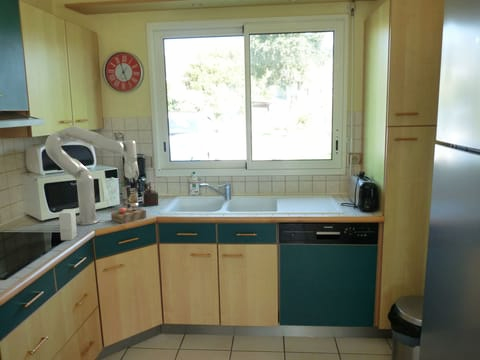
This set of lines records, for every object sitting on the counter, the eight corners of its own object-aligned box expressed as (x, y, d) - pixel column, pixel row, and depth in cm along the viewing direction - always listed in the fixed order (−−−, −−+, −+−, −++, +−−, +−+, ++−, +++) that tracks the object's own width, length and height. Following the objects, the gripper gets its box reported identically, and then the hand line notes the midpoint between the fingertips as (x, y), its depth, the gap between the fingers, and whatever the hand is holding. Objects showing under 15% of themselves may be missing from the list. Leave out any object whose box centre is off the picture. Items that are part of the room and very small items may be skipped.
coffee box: (128, 209, 282) (127, 187, 279) (122, 208, 286) (121, 186, 283) (138, 207, 289) (137, 185, 286) (133, 206, 293) (131, 184, 290)
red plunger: (121, 217, 251) (120, 209, 250) (117, 216, 254) (116, 208, 253) (128, 216, 255) (127, 208, 254) (124, 214, 258) (123, 207, 257)
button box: (121, 223, 248) (121, 216, 247) (111, 220, 256) (111, 212, 255) (146, 217, 261) (146, 210, 260) (136, 214, 269) (135, 207, 268)
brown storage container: (141, 203, 300) (140, 180, 296) (156, 202, 304) (155, 179, 301) (144, 208, 285) (143, 183, 282) (160, 206, 290) (159, 182, 286)
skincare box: (66, 235, 225) (63, 208, 223) (78, 235, 226) (75, 208, 223) (60, 240, 217) (58, 212, 214) (73, 240, 218) (70, 212, 215)
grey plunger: (133, 212, 257) (133, 204, 256) (129, 211, 260) (129, 203, 260) (140, 210, 261) (139, 203, 260) (135, 209, 264) (135, 202, 263)
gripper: (119, 159, 256) (122, 187, 260) (132, 161, 246) (134, 190, 250) (129, 158, 262) (132, 185, 265) (142, 159, 252) (144, 188, 255)
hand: (133, 188), depth 257 cm, fingers closed
